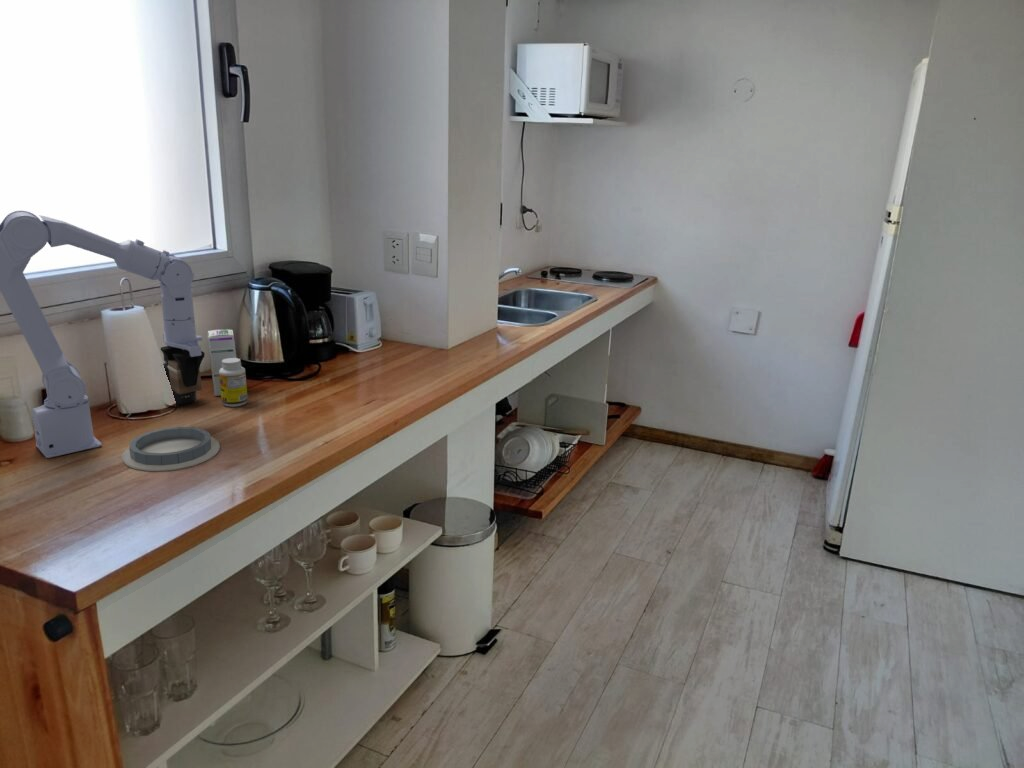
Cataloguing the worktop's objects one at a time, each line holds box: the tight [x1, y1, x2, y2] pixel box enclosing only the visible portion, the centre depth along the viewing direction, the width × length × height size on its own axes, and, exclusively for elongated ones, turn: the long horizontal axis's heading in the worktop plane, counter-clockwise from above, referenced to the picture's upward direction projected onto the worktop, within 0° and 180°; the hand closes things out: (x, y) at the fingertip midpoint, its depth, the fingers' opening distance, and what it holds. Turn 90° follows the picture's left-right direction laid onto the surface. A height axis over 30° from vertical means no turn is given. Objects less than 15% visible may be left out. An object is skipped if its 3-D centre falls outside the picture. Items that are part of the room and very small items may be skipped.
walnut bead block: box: [168, 360, 203, 394], centre depth 155 cm, size 5×5×6 cm
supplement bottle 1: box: [163, 354, 198, 408], centre depth 169 cm, size 7×7×12 cm
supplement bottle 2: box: [219, 357, 249, 408], centre depth 170 cm, size 6×6×10 cm
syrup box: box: [207, 328, 238, 397], centre depth 177 cm, size 6×6×14 cm
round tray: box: [121, 426, 221, 472], centre depth 144 cm, size 17×17×2 cm
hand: (185, 382), depth 155 cm, fingers closed on walnut bead block, 4 cm apart
